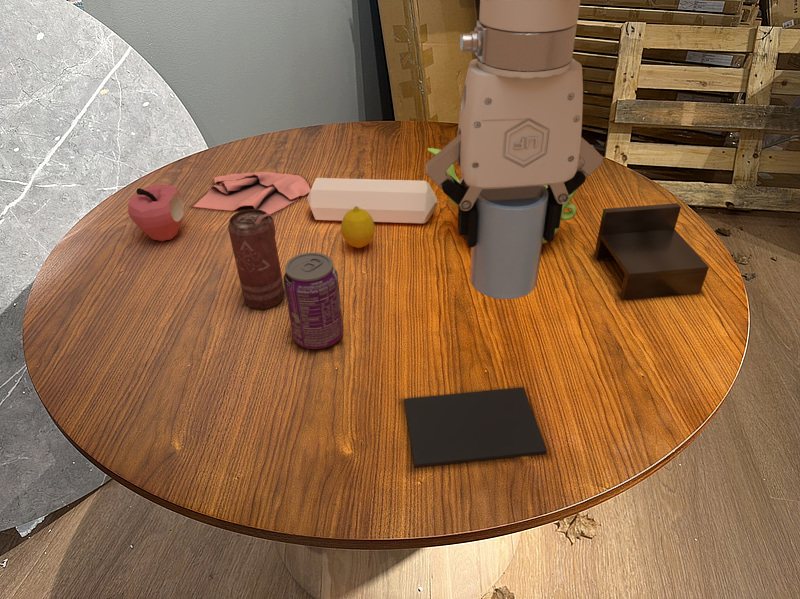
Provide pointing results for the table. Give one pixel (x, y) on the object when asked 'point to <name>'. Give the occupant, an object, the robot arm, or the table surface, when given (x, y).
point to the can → (256, 258)
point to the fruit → (357, 227)
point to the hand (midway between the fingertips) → (507, 235)
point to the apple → (157, 211)
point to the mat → (472, 427)
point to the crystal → (373, 199)
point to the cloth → (254, 192)
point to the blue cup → (508, 241)
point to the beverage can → (313, 300)
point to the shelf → (650, 251)
